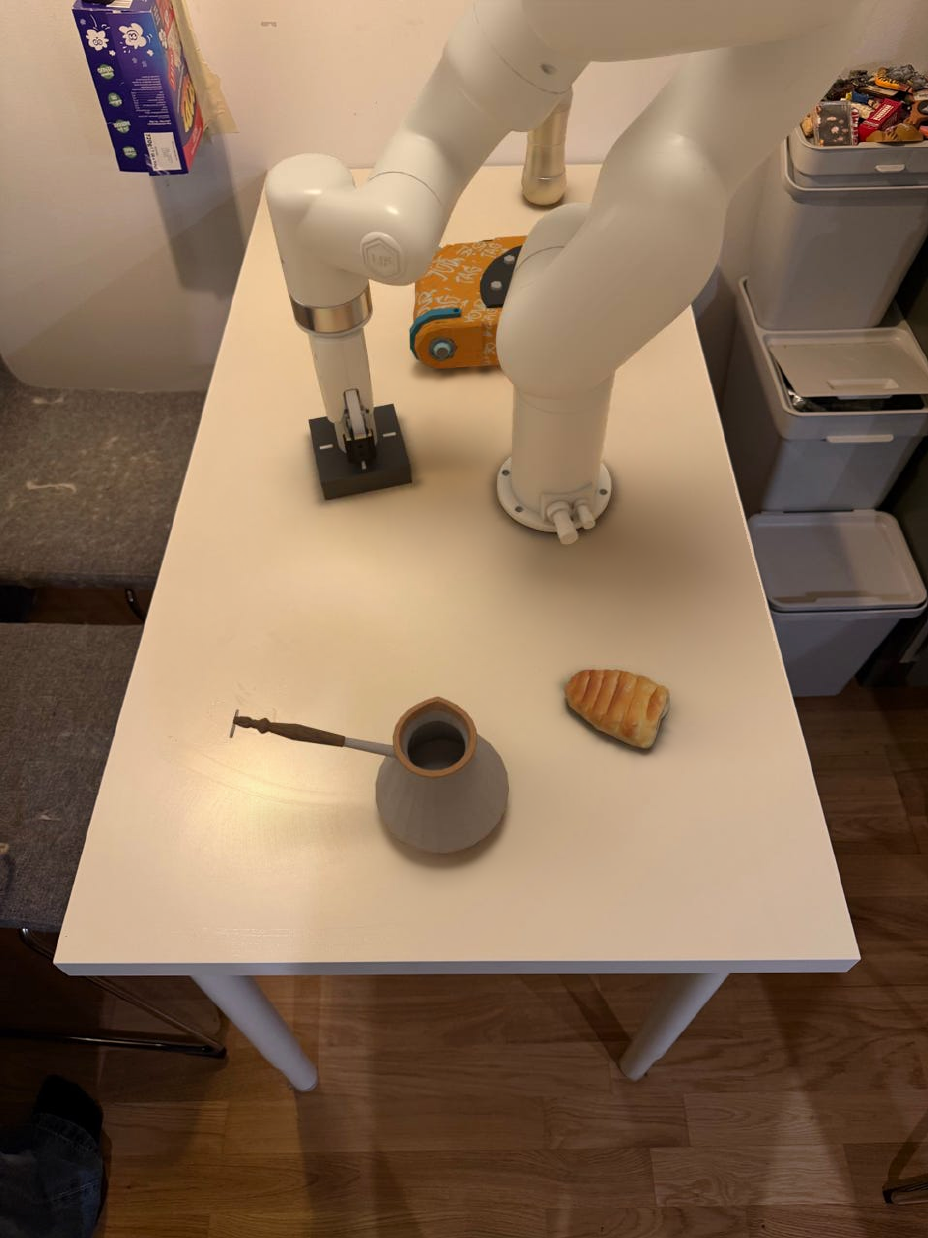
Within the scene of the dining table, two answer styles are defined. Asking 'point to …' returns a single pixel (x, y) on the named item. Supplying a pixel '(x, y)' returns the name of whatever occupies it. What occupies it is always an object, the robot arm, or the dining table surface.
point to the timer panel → (367, 474)
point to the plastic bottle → (547, 156)
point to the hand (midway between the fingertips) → (357, 437)
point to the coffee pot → (425, 774)
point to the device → (463, 303)
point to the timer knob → (340, 428)
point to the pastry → (619, 704)
